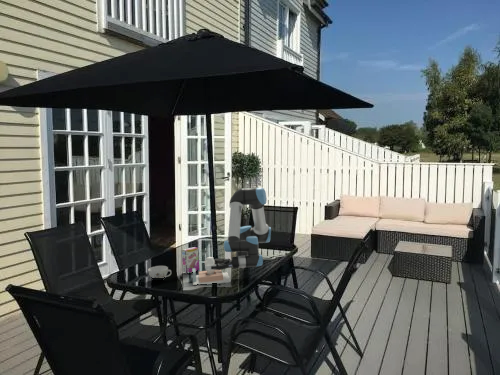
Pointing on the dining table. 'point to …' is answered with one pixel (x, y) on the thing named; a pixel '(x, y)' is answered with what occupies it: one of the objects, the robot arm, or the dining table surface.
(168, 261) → the dining table surface
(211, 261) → the peg
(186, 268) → the candy bar box
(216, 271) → the charging dock
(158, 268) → the teacup
